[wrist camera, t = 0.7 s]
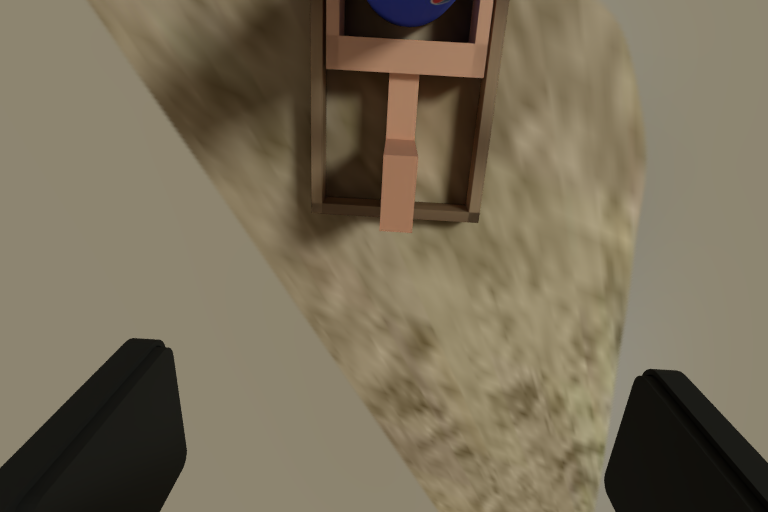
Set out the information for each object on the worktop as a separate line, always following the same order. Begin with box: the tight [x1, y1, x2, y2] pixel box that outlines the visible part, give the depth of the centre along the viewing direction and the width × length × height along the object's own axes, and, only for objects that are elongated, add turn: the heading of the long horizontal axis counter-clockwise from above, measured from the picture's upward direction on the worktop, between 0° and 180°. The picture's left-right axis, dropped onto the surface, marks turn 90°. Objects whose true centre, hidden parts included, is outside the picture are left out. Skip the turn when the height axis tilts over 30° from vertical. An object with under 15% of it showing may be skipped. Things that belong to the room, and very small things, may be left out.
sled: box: [326, 0, 493, 233], centre depth 21 cm, size 16×8×6 cm, turn 177°
